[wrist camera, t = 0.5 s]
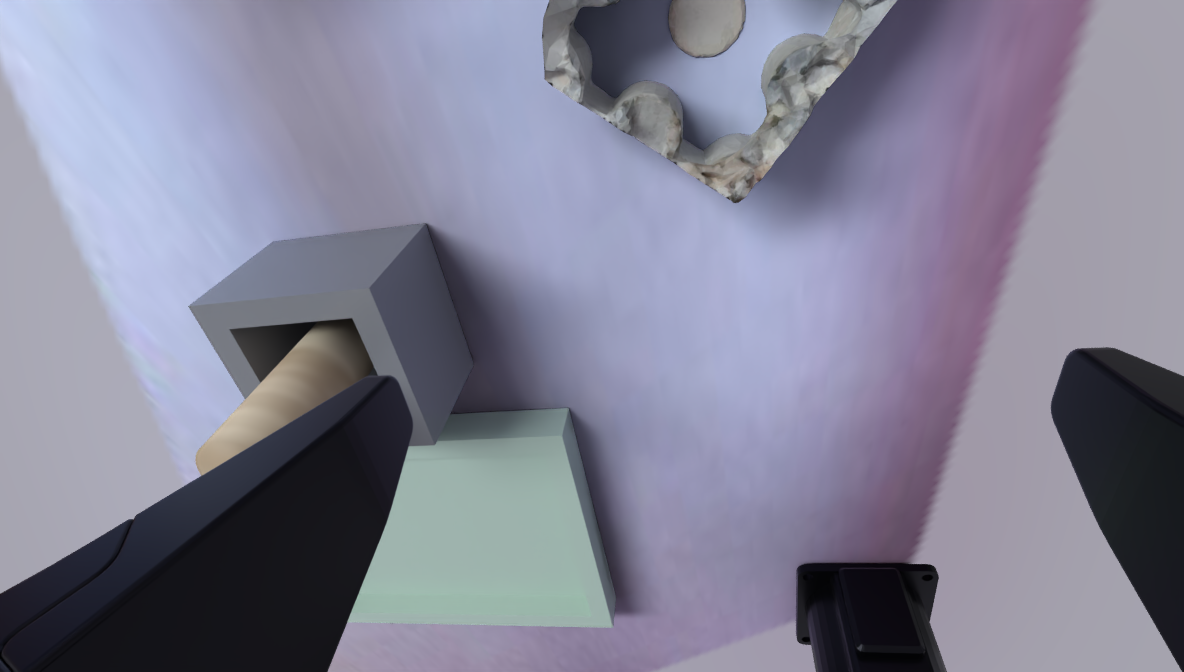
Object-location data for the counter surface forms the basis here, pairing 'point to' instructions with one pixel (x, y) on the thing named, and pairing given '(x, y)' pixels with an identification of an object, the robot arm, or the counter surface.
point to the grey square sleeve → (347, 314)
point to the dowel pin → (292, 389)
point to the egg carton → (706, 28)
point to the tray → (492, 530)
